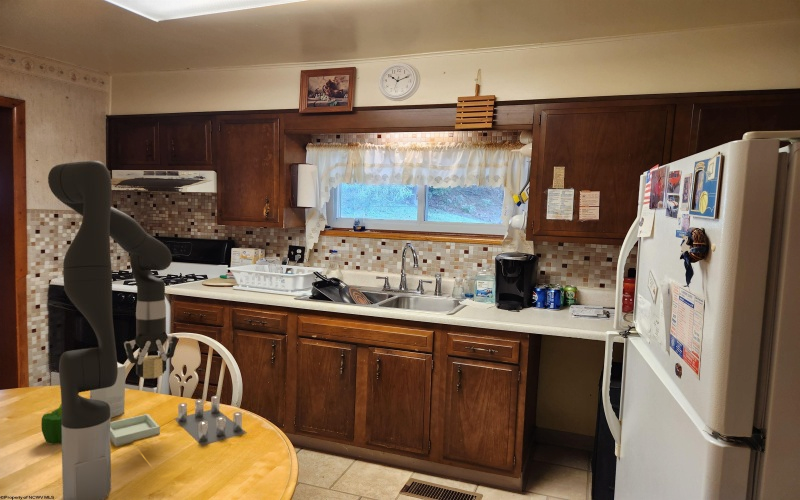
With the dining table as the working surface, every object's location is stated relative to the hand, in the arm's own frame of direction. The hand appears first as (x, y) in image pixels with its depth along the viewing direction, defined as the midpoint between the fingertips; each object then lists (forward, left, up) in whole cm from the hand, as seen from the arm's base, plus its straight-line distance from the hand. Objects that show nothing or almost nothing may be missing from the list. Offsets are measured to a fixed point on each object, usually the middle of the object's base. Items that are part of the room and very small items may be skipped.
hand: (151, 374), depth 142 cm
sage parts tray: (+3, +4, -17) cm, 18 cm away
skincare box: (+22, +6, -17) cm, 28 cm away
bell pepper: (+10, +20, -17) cm, 28 cm away
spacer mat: (-6, -14, -17) cm, 23 cm away
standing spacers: (-6, -14, -17) cm, 23 cm away
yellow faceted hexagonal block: (0, 0, 0) cm, 0 cm away
